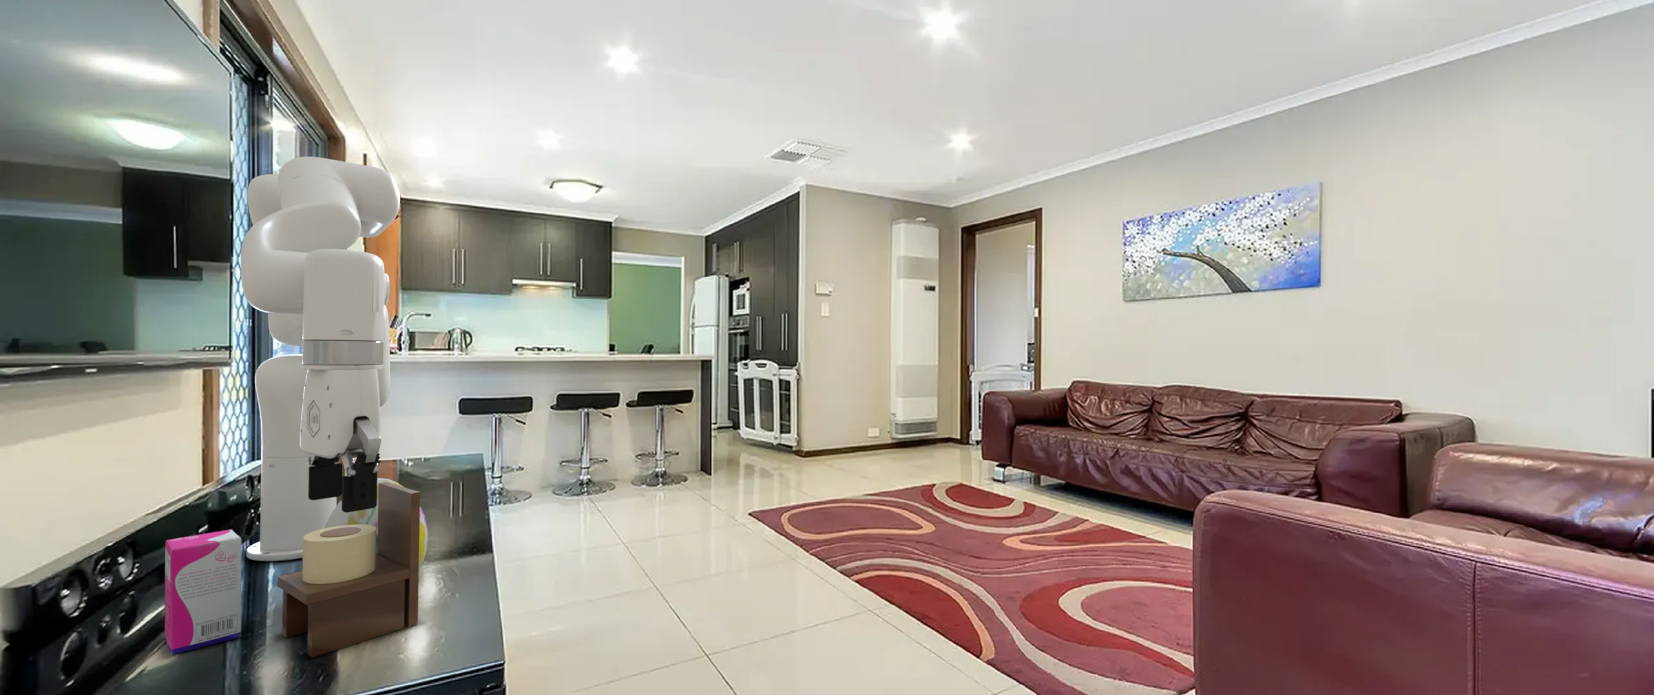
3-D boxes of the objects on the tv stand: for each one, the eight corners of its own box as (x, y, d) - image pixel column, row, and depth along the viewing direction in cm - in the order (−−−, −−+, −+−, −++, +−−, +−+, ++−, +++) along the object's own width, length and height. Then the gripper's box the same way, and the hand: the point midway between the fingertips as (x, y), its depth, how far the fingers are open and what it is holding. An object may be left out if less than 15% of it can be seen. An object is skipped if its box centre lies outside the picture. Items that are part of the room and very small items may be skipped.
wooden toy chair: (276, 637, 73) (278, 498, 73) (385, 605, 82) (387, 482, 82) (305, 660, 68) (308, 510, 68) (417, 623, 77) (420, 492, 77)
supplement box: (232, 622, 76) (234, 527, 76) (241, 637, 73) (243, 537, 73) (163, 639, 72) (164, 538, 72) (169, 656, 68) (170, 549, 68)
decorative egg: (361, 610, 80) (363, 492, 80) (296, 596, 84) (298, 483, 84) (447, 577, 92) (449, 474, 92) (386, 566, 96) (388, 467, 96)
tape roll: (293, 575, 73) (293, 533, 73) (361, 559, 79) (362, 520, 79) (315, 589, 69) (316, 544, 69) (386, 571, 75) (386, 530, 75)
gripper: (277, 356, 76) (274, 499, 76) (335, 357, 66) (332, 522, 66) (351, 356, 82) (349, 488, 82) (414, 357, 72) (411, 508, 72)
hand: (341, 503), depth 74 cm, fingers open, 9 cm apart
